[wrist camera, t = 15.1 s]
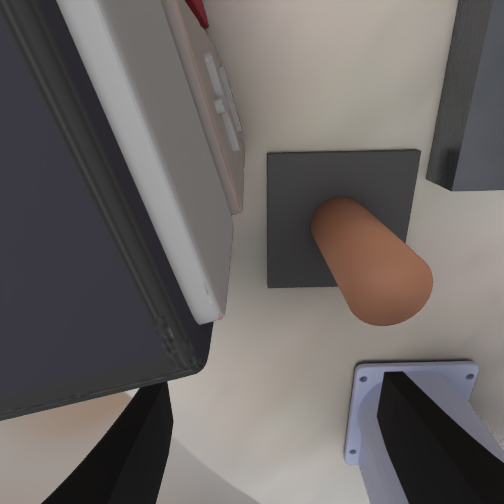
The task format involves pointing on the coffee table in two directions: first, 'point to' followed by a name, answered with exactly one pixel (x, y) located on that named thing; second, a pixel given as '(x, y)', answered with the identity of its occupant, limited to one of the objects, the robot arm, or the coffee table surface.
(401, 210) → the mat
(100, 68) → the red and grey box
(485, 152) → the chuck plate
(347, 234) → the cylinder
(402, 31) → the coffee table surface
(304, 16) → the coffee table surface
